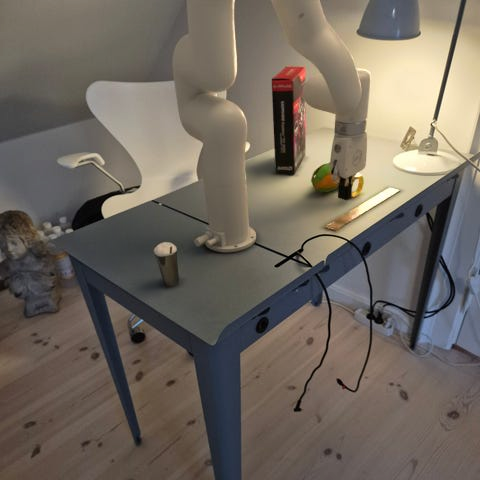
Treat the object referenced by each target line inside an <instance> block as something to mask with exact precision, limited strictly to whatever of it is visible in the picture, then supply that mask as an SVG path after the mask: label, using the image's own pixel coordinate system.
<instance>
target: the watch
mask: <svg viewBox="0 0 480 480" xmlns="http://www.w3.org/2000/svg"><path fill="white" fill-rule="evenodd" d="M356 180H358V185H357V188H356V190H355V192H351V198H355V197H356V196H358V195H360V194H361V192H362V190H363V188H364V182H365V181H364V177H363V176H362V174H361V173H360V172H358V173H357V174H356V175H355V177H354V182H355V181H356ZM353 185H354V183H353V184H352V187H353Z"/></svg>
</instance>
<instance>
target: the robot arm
mask: <svg viewBox="0 0 480 480" xmlns="http://www.w3.org/2000/svg"><path fill="white" fill-rule="evenodd" d="M235 2H236V0H186V13H187V15H186V16H187V29H188V33H187V34H185V35H183V36H182V37H181V38H180V39H179V40H178V41H177V43H176V45H175V47H174V49H173V54H172V63H171V64H172V74H173V82H174V89H175V91H174V92H175V97H176V104H177V109H178V110H177V112H178V116H179V120H180V123H181V126H182V128H183V130H184V131H185V132H186V133H187V134H188V135H189V136H190V137H192V138H194V139H195V140H197V141H200V142H201V144H202V146H203V147H202V148H203V149H202V150H203V151H202V158H201V172H202V173H201V174H202V180H203V186H204V195H205V203H206V212H207V220H208V226H206V227H205V232H204V233H203V235H200V236H198V237H196V238H194V240H193V242H194V245H195V246H196V247H201V246H203V245H204V244H205V246H206V247H207V248H208V249H210V250H212V251H214V252H218V253H236V252H241V251H244V250H246V249H248V248H250V247H252V246H253V245H254V244H255V243H256V240H257V232H256V231H255V230H254V229H253V228H252V227H250V219H249V204H248V189H247V188H248V187H247V186H248V185H247V171H246V148H247V147H246V146H247V139H248V138H247V137H248V123H247V122H248V121H247V118H246V115H245V113H244V112H243V110H242V109H241V108H240V107H239V106H238V105H237V104H235V103H234V102H233V101H231V100H230V99H229V100H228V99H226V98H224V97H220V96H218V93H221V92H225V91H227V90H229V89H230V88H232V86H233V85H234V83H235V81H236V78H237V73H238V60H237V59H238V58H237V57H238V56H237V43H236V29H235ZM270 2H271V4H272V6H273V9H274V12H275V14H276V17H277V20H278V22H279V24H280V27H281V30H282V32H283V35H284V38H285V40H286V43H287V44H288V45H289V46H290V47H291V48H292V49H293V50H295V51H296V52H297V53H298V54H299V55H301V56H302V57H304V58H305V59H306V60H307V61H308V62H309V63H311V64H312V65H313V66H314V67H315V68H316V69H317V70H318V72H319V73H315V74H313V75H311V76H310V77H308V78H307V80H305V85H304V88H303V97H304V100H305V104H306V105H308V106H309V107H311V108H313V109H315V110H318V111H322V112H326V113H329V114H333V115H334V116H335V118H334V129H333V130H334V132H333V134H334V135H333V139H332V144H331V152H330V158H329V159H330V160H329V162H330V174H331V175H333V178H332V182H335V183H337V184H339V185H338V188H337V198H338V199H340V200H343V201H349V200H351V198H352V197H351V192H352V191H353V186H352V184H353V185H354V183H355V181H354V177H355V175H356V174H357V173H360V172H361V171H364V169H365V168H366V165H367V156H368V155H367V153H368V133H367V122H368V113H369V104H370V103H369V102H370V94H371V84H372V74H371V71H369V70H368V69H364V68H357V66H356V62H355V60H354V57H353V55H352V54H351V51H350V49H348V47H347V45H346V44H345V42H343V40H342V39H341V37H340V36H339V34H338V33H337V32H336V30H335V29H334V28H333V27H332V25H330V23H329V22H328V19H326V16H325V13H324V10H323V6H322V3H321V0H270ZM352 193H353V192H352Z"/></svg>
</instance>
